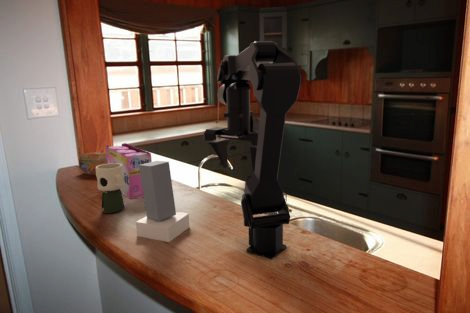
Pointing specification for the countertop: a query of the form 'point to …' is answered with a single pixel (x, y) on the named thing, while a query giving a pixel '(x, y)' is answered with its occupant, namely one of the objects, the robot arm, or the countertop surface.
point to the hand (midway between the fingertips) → (239, 169)
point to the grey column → (157, 190)
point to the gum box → (129, 167)
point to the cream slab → (163, 227)
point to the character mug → (111, 186)
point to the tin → (92, 162)
